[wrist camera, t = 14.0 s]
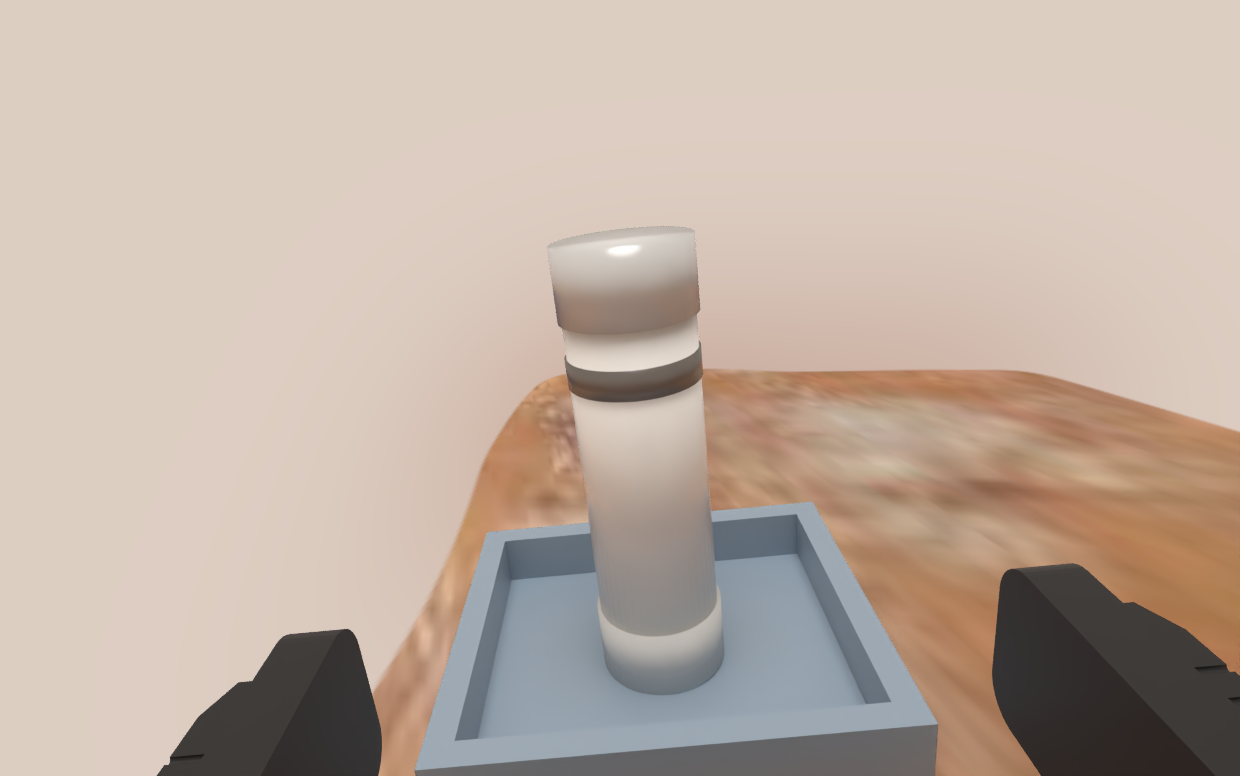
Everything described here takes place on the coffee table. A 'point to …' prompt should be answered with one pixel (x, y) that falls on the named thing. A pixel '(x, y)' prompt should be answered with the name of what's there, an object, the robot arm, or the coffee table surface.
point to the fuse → (643, 449)
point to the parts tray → (695, 719)
